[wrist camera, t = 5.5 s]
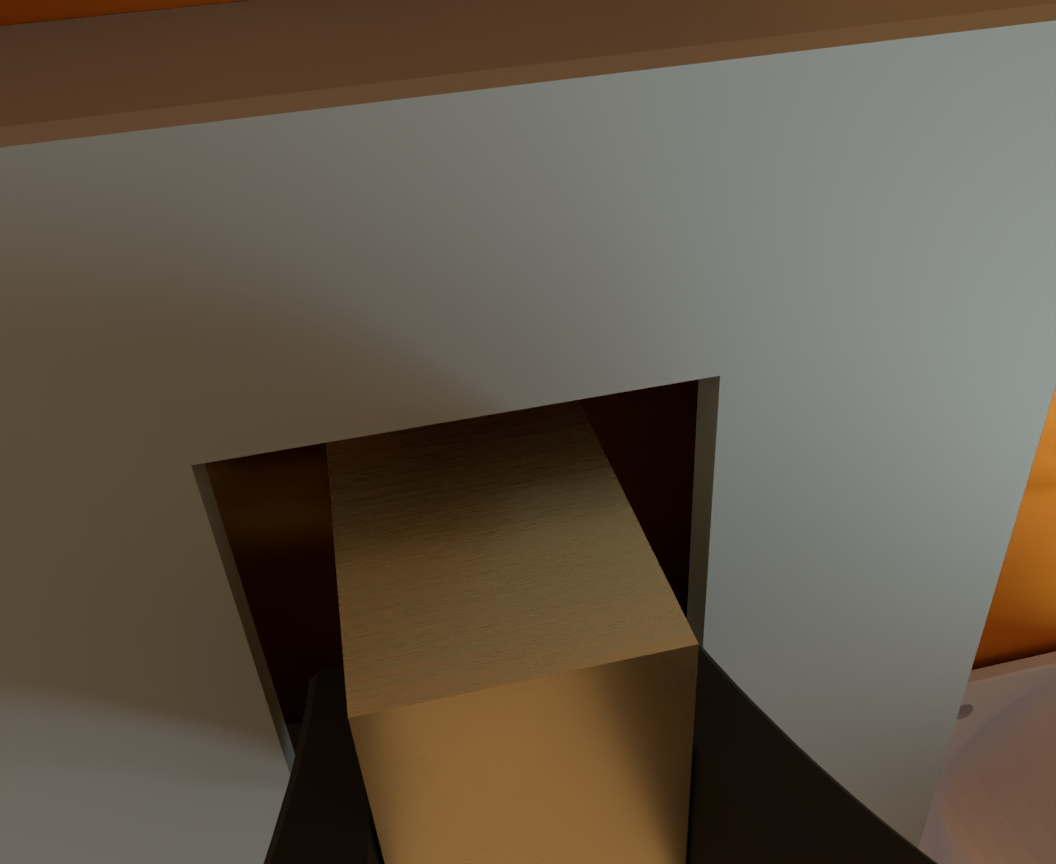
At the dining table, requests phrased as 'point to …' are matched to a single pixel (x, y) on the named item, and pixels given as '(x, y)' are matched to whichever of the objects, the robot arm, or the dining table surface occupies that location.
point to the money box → (509, 345)
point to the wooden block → (509, 647)
